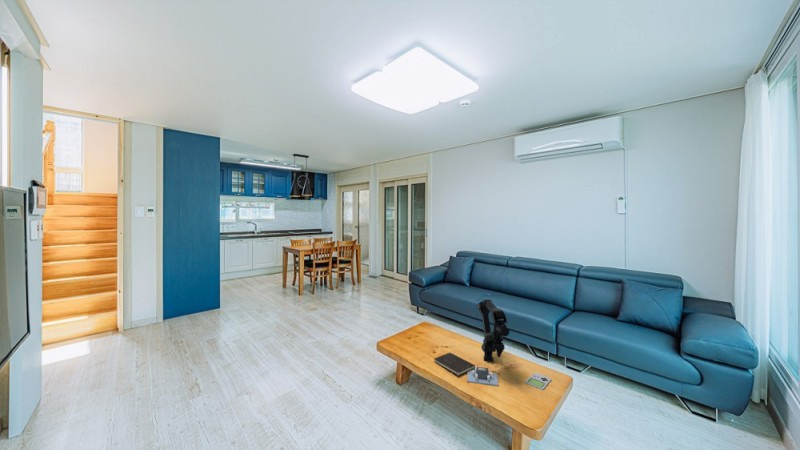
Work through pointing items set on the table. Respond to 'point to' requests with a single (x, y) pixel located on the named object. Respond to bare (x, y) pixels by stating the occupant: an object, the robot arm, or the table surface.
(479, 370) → the drive
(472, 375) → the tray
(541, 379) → the handheld gaming console
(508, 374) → the table surface
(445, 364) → the hardcover book
